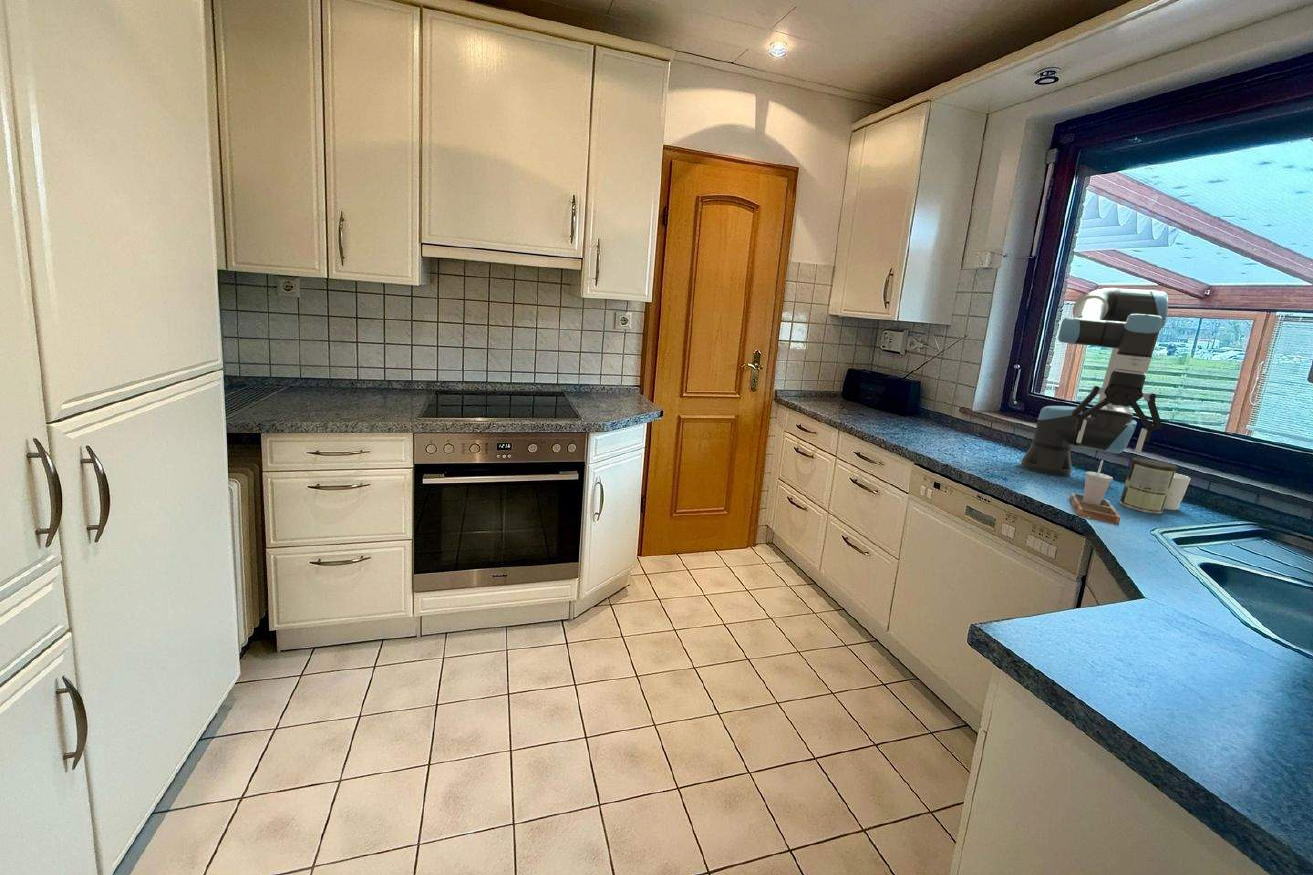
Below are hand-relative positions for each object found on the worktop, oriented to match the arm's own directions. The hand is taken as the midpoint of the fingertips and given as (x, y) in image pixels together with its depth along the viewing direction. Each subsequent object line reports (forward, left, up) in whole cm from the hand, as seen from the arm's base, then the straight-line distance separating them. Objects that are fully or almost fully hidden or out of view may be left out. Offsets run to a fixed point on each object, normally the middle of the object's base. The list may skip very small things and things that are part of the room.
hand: (1107, 447), depth 163 cm
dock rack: (+4, 0, -18) cm, 18 cm away
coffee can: (-13, +14, -18) cm, 26 cm away
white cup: (-21, +21, -18) cm, 35 cm away
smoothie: (0, 0, -18) cm, 18 cm away
